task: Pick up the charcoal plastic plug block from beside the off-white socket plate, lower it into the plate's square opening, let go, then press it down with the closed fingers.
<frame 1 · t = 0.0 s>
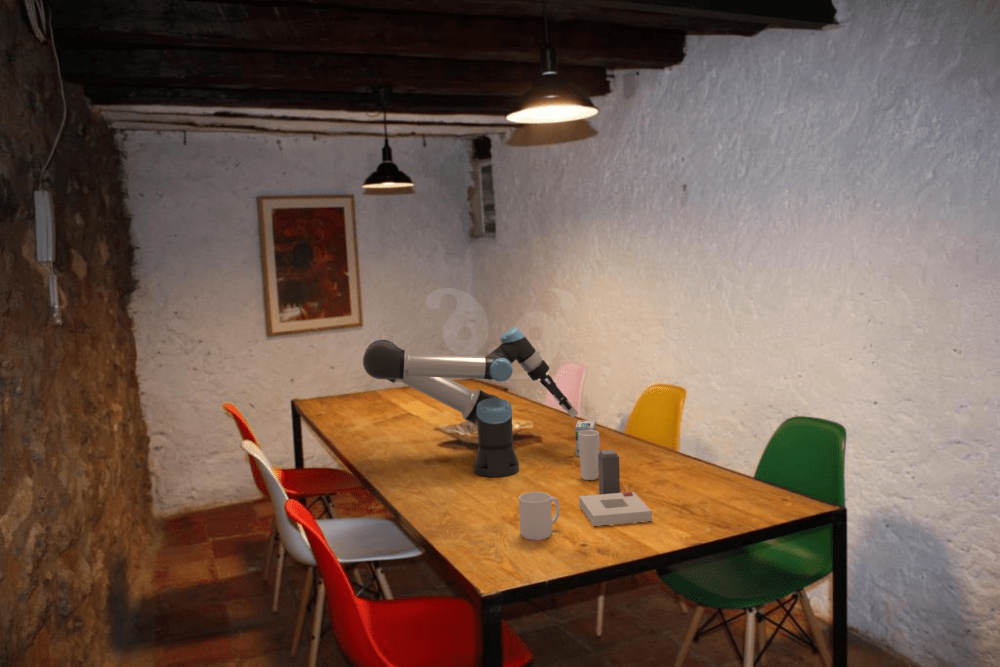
hand: (571, 411, 265), 15 cm above the table, tool tilted 35°, fingers open, 13 cm apart
light bulb box: (586, 453, 267), on the table
drinking glass: (589, 479, 238), on the table
plug: (609, 494, 222), on the table
socket: (614, 513, 206), on the table
cup: (541, 533, 195), on the table
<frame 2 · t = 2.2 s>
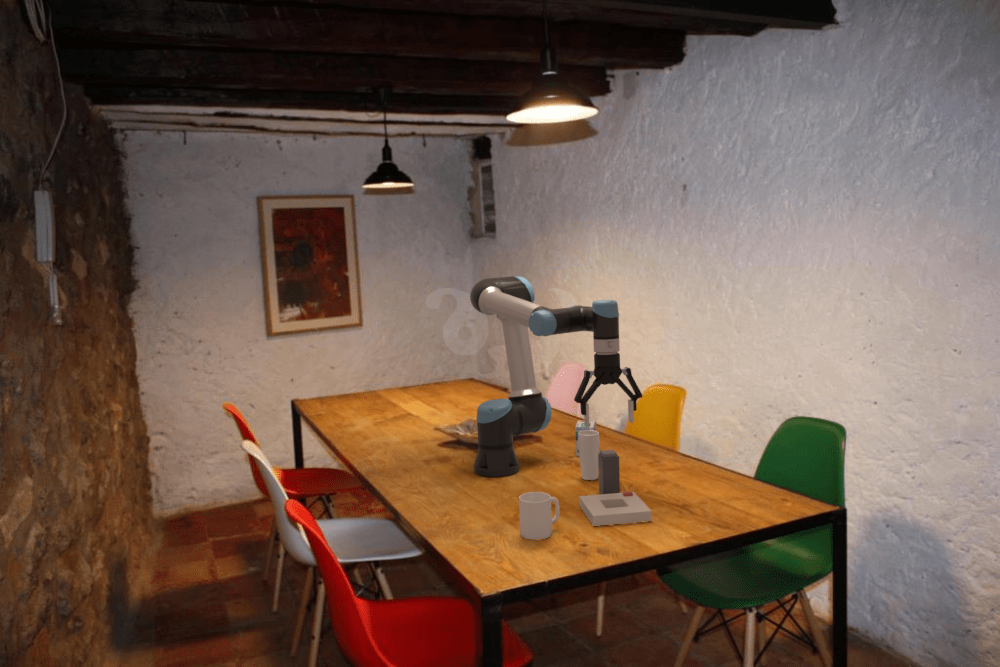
hand: (609, 423, 221), 21 cm above the table, tool pointing down, fingers open, 13 cm apart
nothing on the table moved.
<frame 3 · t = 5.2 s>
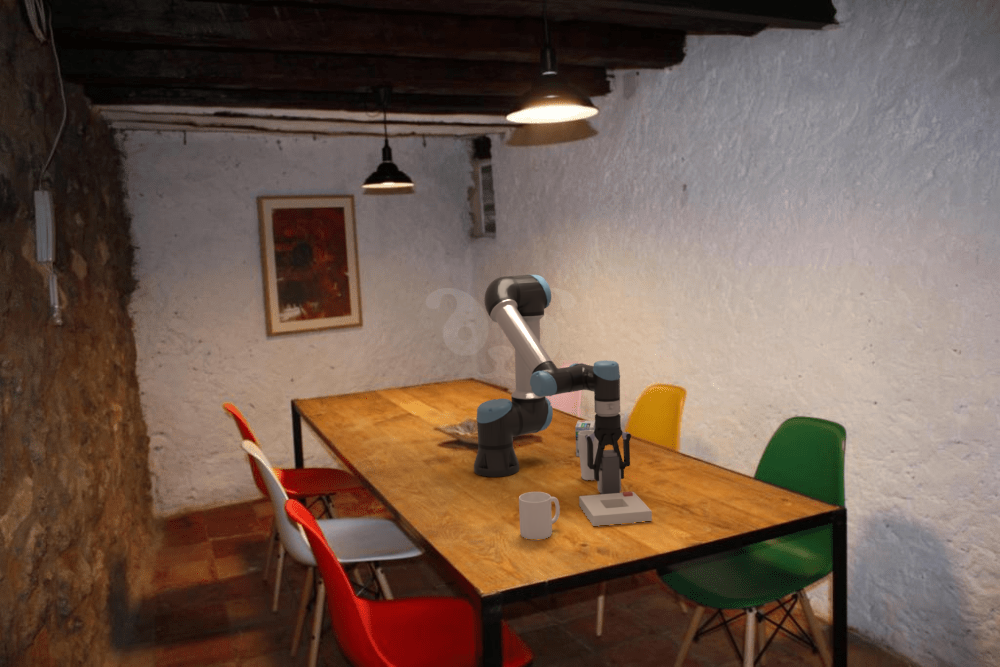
hand: (609, 490, 222), 1 cm above the table, tool pointing down, fingers closed on plug, 5 cm apart
plug: (609, 494, 222), on the table, touching gripper
everything else where it was.
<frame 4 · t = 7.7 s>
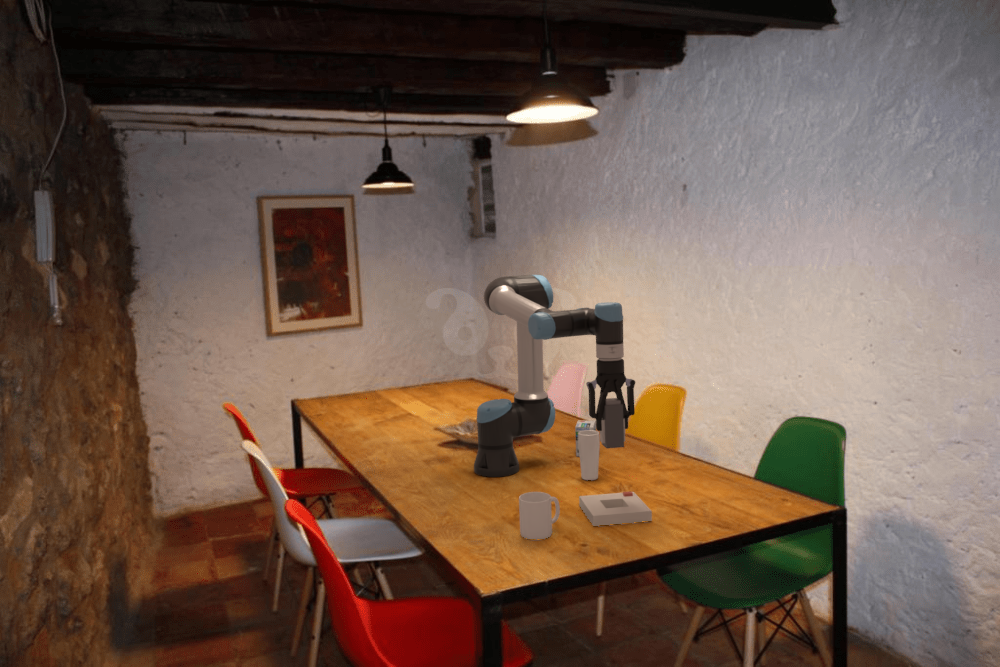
hand: (612, 441, 208), 19 cm above the table, tool pointing down, fingers closed on plug, 5 cm apart
plug: (612, 445, 208), point 18 cm above the table, touching gripper
everything else where it was.
when the fingers open (5 cm above the table, at t = 10.2 s): plug drops 3 cm, resting in socket.
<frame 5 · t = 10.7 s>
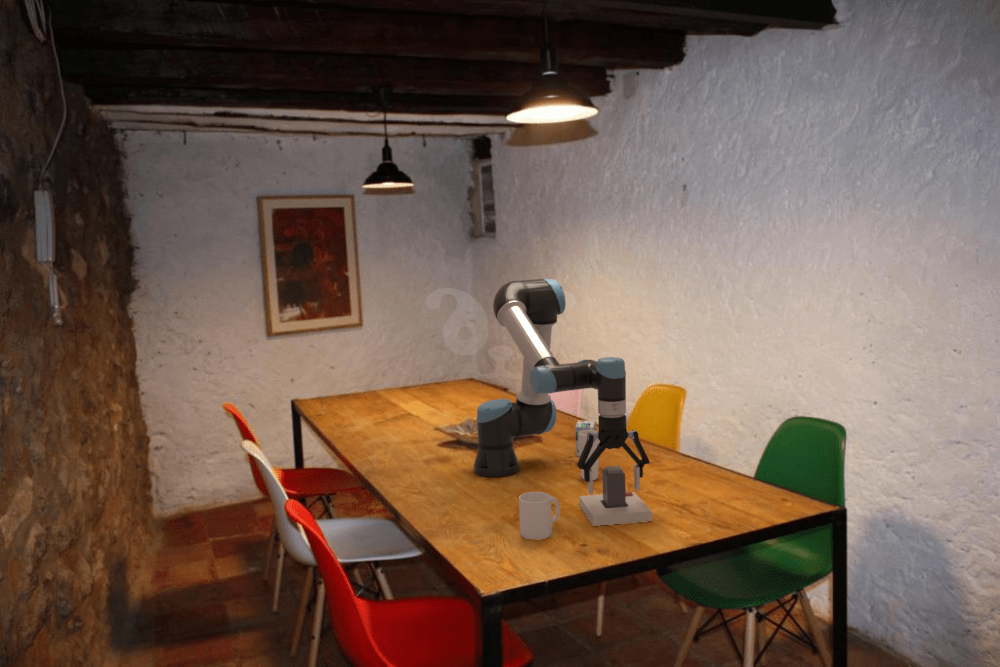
hand: (613, 490, 205), 7 cm above the table, tool pointing down, fingers open, 12 cm apart
plug: (614, 513, 206), resting in socket
everything else where it was.
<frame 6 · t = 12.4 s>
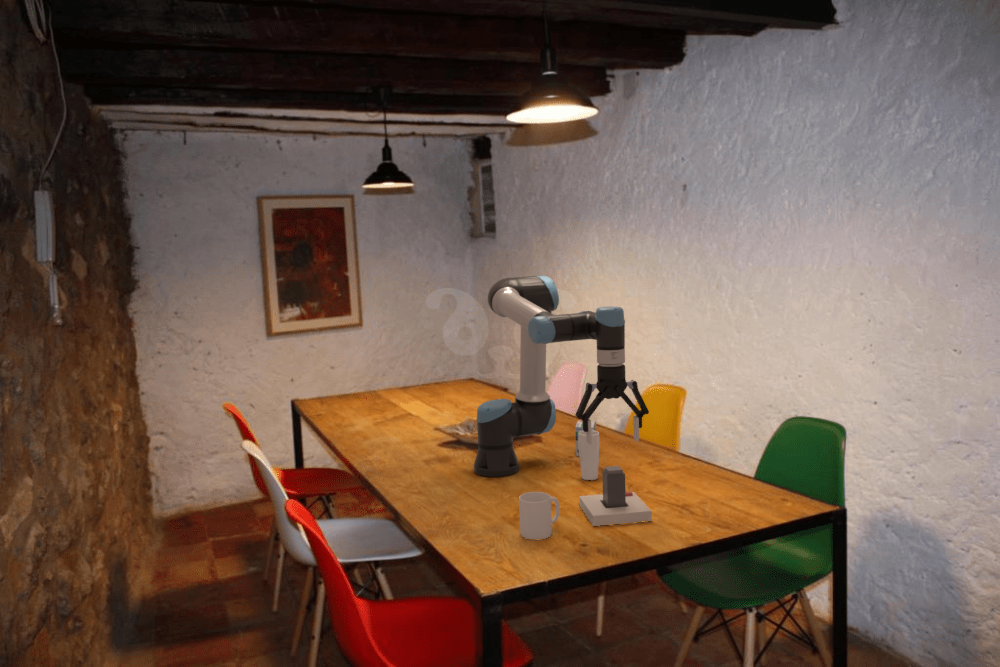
hand: (612, 441, 204), 20 cm above the table, tool pointing down, fingers open, 12 cm apart
nothing on the table moved.
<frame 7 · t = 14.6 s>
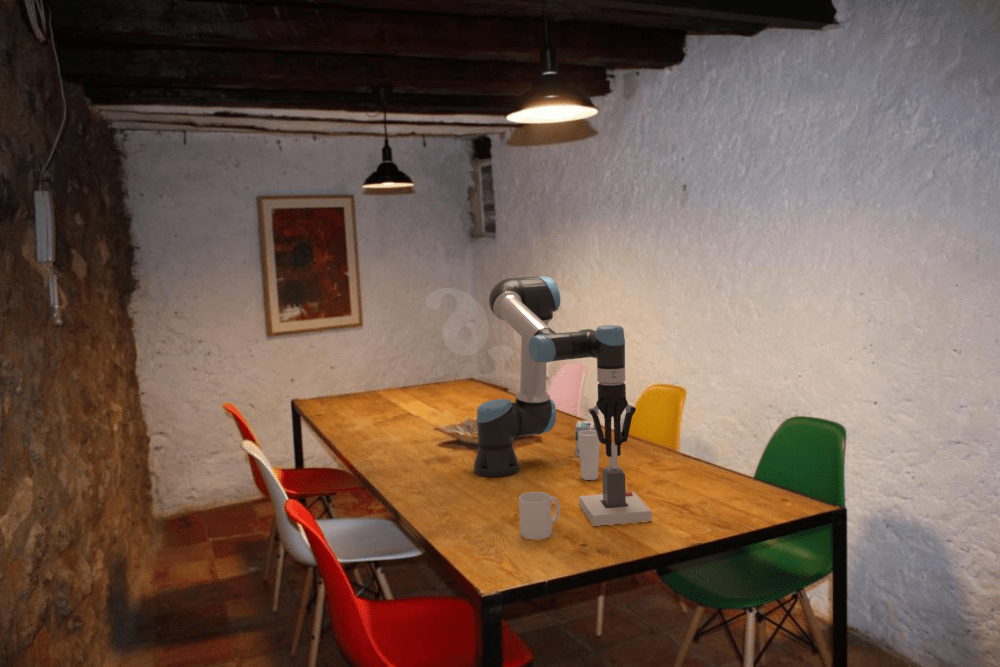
hand: (613, 467, 205), 13 cm above the table, tool pointing down, fingers closed
plug: (614, 514, 206), resting in socket, touching gripper
everything else where it was.
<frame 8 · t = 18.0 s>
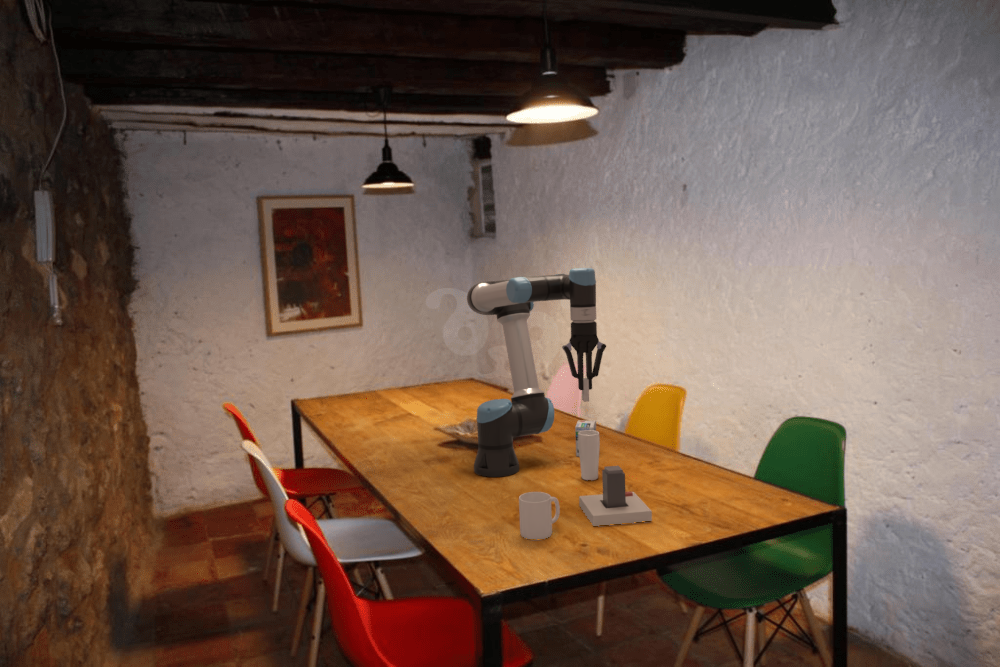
hand: (585, 400, 220), 28 cm above the table, tool pointing down, fingers closed
plug: (614, 513, 206), resting in socket
everything else where it was.
at the end: plug 0.0 cm off-centre on the socket, point 0.0 cm above the socket's base; plug tilted 0°; the gripper is holding nothing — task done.
